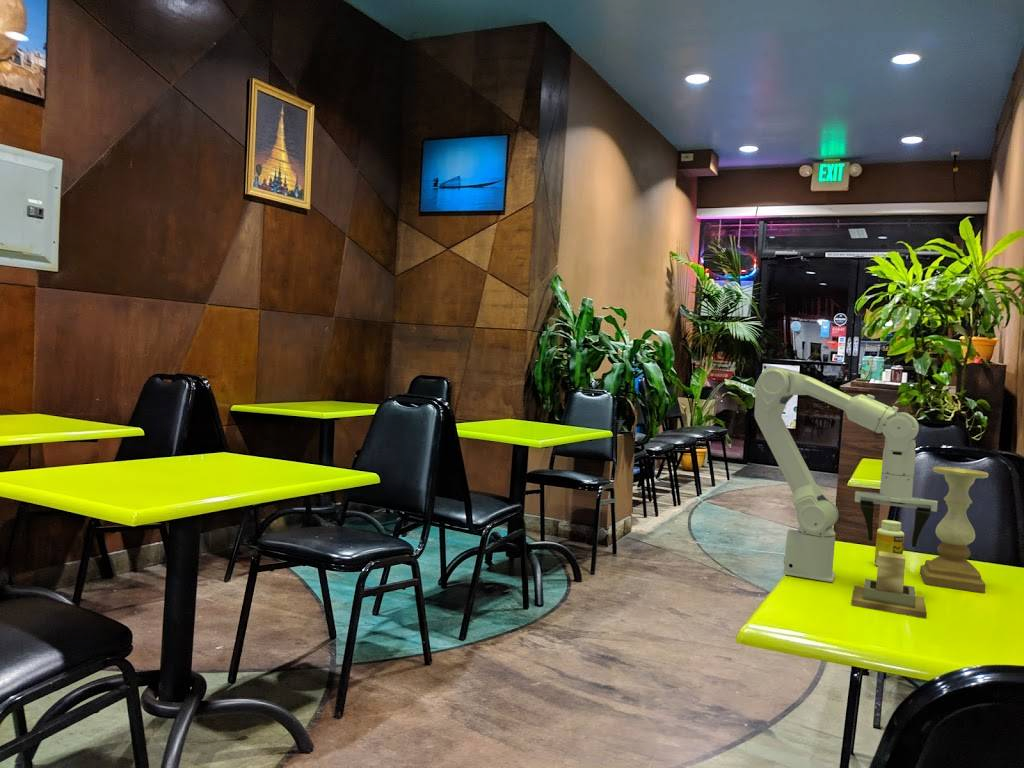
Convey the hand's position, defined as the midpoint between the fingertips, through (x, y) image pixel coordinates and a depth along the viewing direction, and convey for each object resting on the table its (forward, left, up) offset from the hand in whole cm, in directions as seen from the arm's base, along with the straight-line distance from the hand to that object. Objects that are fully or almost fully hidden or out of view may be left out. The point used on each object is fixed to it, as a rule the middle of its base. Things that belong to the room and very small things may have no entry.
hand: (891, 542), depth 155 cm
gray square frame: (0, -11, -9) cm, 14 cm away
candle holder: (+12, +17, -10) cm, 23 cm away
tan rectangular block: (0, -11, -8) cm, 14 cm away
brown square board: (0, -11, -9) cm, 14 cm away
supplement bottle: (0, +24, -10) cm, 26 cm away
